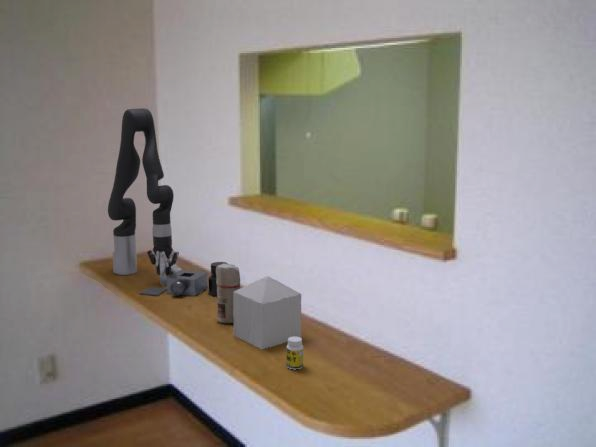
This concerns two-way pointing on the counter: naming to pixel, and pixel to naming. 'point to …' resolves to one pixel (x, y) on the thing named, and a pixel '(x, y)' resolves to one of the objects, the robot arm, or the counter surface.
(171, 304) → the counter surface
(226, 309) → the spray can
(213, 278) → the ink bottle
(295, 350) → the supplement bottle
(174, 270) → the white elongated piece
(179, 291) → the block
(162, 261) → the grey metal cylinder
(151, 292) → the key rest mat
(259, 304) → the decorative block
